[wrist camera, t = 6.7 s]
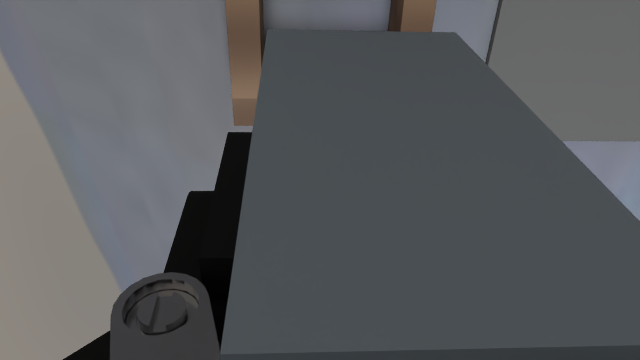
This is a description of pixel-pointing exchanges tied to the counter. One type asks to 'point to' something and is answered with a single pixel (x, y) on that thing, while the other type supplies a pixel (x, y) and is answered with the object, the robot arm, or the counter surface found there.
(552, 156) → the block
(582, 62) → the mat
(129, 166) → the counter surface
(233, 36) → the pocket holder
